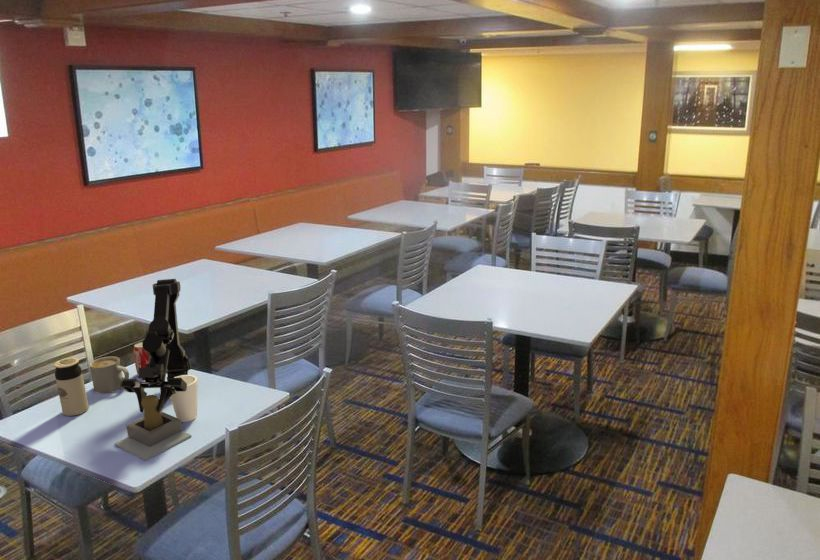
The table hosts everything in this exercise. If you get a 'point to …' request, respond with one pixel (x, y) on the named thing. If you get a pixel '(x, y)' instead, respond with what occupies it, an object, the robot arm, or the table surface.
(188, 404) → the foam cup
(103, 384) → the coffee mug
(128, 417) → the table surface
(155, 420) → the cork
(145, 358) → the soda can
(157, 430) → the socket
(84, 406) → the travel mug
